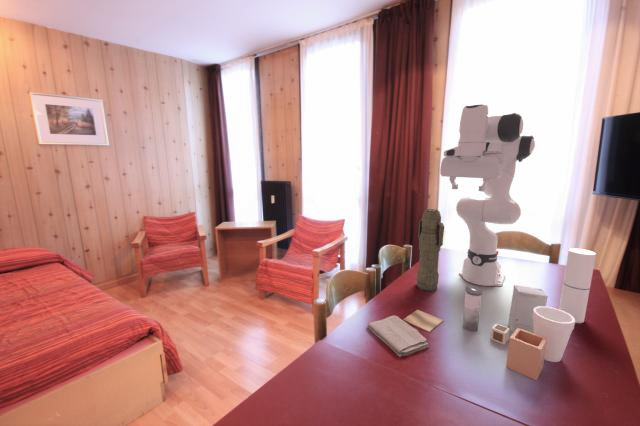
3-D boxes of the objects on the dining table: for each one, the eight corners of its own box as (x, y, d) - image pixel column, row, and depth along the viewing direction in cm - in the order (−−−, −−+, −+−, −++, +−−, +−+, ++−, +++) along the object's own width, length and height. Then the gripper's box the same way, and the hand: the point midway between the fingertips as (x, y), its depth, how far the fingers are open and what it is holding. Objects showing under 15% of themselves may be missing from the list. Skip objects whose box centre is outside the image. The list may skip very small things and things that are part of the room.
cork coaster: (417, 310, 112) (417, 309, 112) (443, 321, 104) (443, 320, 104) (403, 320, 105) (403, 319, 105) (429, 332, 98) (429, 331, 98)
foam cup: (575, 368, 81) (583, 325, 79) (537, 363, 83) (544, 321, 80) (555, 346, 90) (562, 307, 88) (522, 343, 92) (527, 304, 90)
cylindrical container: (557, 317, 106) (567, 251, 101) (559, 310, 111) (569, 247, 106) (583, 325, 101) (596, 256, 96) (584, 317, 106) (596, 251, 102)
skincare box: (511, 333, 97) (516, 291, 94) (507, 323, 103) (512, 284, 100) (542, 338, 94) (548, 295, 91) (536, 328, 100) (542, 287, 97)
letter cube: (494, 334, 97) (495, 322, 96) (508, 339, 94) (510, 328, 93) (489, 339, 94) (491, 327, 93) (504, 345, 91) (505, 333, 90)
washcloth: (401, 360, 85) (401, 351, 85) (365, 328, 101) (365, 320, 101) (431, 348, 90) (431, 339, 90) (393, 320, 106) (393, 312, 106)
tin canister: (465, 321, 104) (469, 284, 101) (480, 327, 100) (484, 289, 98) (459, 327, 101) (463, 289, 98) (474, 333, 97) (479, 294, 94)
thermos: (433, 294, 125) (439, 213, 118) (410, 285, 134) (414, 209, 127) (444, 288, 130) (450, 210, 124) (421, 279, 139) (425, 207, 133)
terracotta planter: (513, 355, 86) (517, 327, 85) (543, 367, 81) (547, 338, 80) (506, 366, 82) (509, 337, 80) (536, 380, 77) (541, 349, 75)
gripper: (507, 150, 99) (502, 191, 101) (447, 151, 114) (444, 187, 116) (500, 150, 95) (496, 193, 97) (439, 151, 110) (437, 188, 112)
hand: (467, 190), depth 107 cm, fingers open, 8 cm apart
